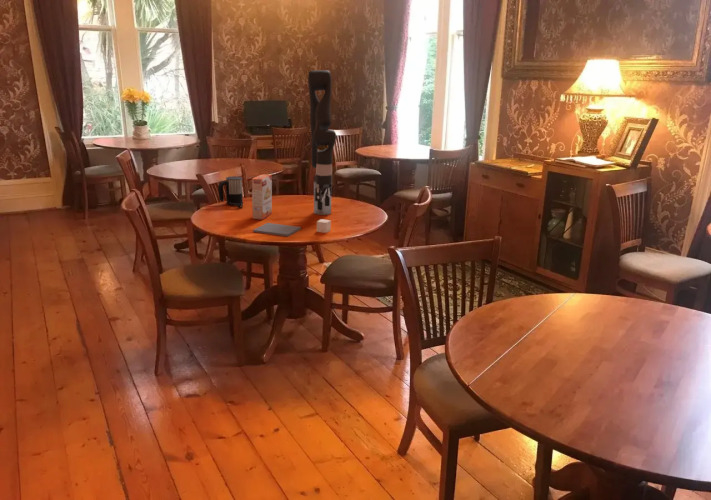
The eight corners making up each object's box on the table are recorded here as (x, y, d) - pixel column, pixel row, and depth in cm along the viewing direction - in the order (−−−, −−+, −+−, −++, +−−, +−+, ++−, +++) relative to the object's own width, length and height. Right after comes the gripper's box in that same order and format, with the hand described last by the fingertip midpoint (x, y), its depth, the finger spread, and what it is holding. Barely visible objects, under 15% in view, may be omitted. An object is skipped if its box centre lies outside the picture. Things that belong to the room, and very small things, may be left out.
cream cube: (320, 229, 272) (321, 219, 271) (330, 230, 271) (330, 220, 269) (316, 231, 268) (316, 221, 266) (326, 233, 266) (326, 222, 265)
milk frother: (235, 201, 323) (234, 175, 318) (255, 205, 314) (254, 179, 309) (216, 205, 312) (214, 178, 307) (235, 210, 303) (234, 182, 298)
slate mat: (267, 224, 277) (267, 222, 276) (300, 229, 271) (300, 227, 271) (253, 231, 264) (253, 229, 264) (287, 236, 258) (287, 234, 258)
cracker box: (263, 220, 285) (262, 179, 278) (252, 219, 286) (250, 178, 279) (272, 213, 298) (272, 174, 291) (262, 212, 299) (261, 173, 292)
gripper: (322, 170, 268) (322, 204, 273) (310, 175, 256) (310, 210, 260) (337, 172, 266) (336, 205, 271) (325, 176, 253) (324, 211, 258)
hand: (323, 207), depth 266 cm, fingers open, 8 cm apart
